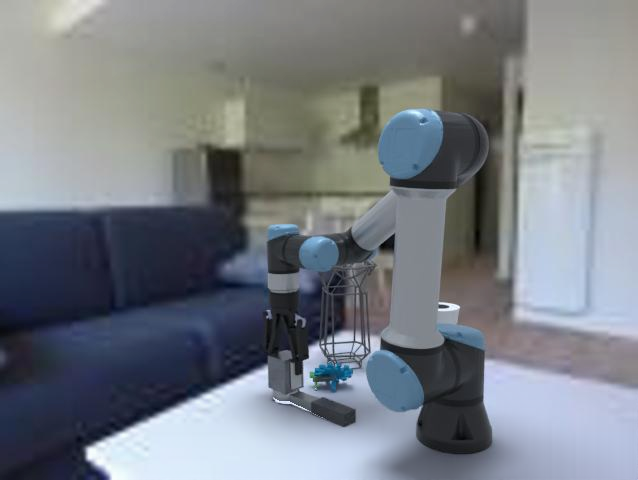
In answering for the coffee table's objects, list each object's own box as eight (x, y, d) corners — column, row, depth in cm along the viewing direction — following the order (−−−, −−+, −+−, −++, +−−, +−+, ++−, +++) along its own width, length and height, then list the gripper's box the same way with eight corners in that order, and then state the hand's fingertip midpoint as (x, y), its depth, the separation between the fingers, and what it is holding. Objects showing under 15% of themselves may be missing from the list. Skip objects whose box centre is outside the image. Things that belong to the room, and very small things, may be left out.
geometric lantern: (313, 358, 168) (311, 241, 164) (364, 355, 171) (364, 239, 167) (323, 377, 153) (321, 247, 149) (379, 372, 156) (379, 245, 152)
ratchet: (359, 419, 126) (359, 388, 125) (339, 428, 121) (339, 397, 121) (287, 392, 142) (286, 365, 142) (267, 399, 138) (266, 371, 137)
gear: (355, 375, 149) (348, 358, 141) (356, 397, 145) (349, 380, 137) (314, 379, 151) (305, 362, 143) (314, 401, 147) (304, 384, 139)
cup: (417, 375, 153) (417, 309, 151) (421, 363, 163) (422, 301, 161) (457, 379, 150) (458, 312, 148) (460, 366, 160) (461, 303, 158)
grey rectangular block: (303, 387, 138) (303, 354, 137) (285, 394, 133) (284, 360, 132) (286, 381, 142) (286, 349, 141) (268, 387, 138) (267, 355, 137)
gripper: (324, 292, 131) (325, 389, 133) (269, 282, 144) (271, 370, 147) (300, 297, 126) (302, 398, 128) (245, 286, 139) (248, 378, 142)
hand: (286, 383), depth 138 cm, fingers open, 6 cm apart
